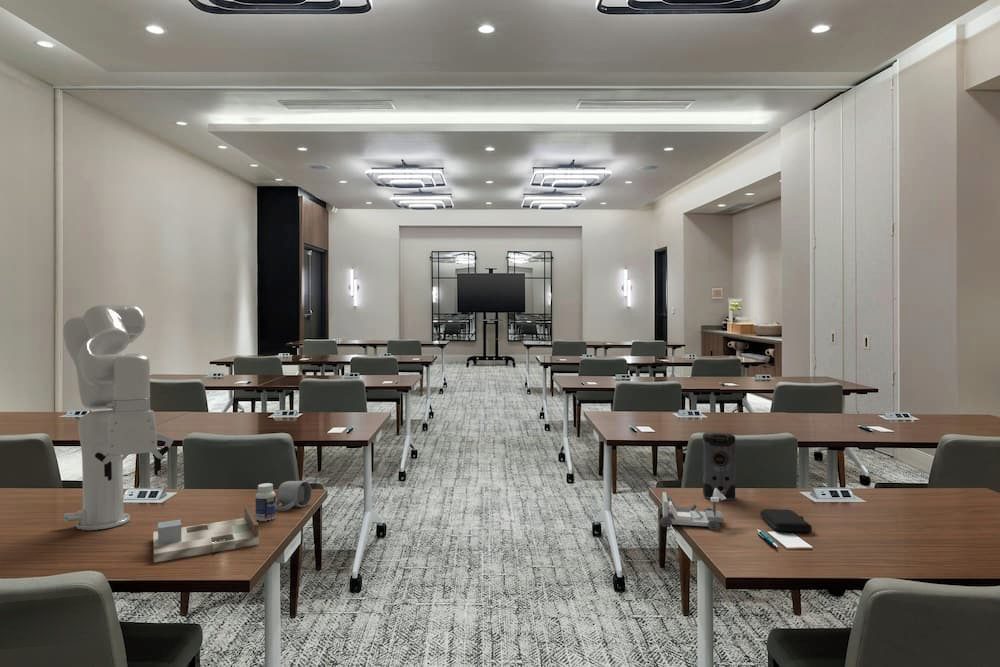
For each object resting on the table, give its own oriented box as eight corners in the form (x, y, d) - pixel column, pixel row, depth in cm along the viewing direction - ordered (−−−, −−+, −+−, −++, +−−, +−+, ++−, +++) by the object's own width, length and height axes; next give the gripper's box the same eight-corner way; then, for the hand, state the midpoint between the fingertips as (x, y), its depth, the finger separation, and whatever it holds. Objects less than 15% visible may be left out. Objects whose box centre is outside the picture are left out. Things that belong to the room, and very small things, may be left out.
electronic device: (705, 499, 191) (705, 436, 191) (702, 494, 197) (702, 432, 196) (736, 500, 189) (736, 436, 189) (732, 495, 195) (732, 433, 195)
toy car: (724, 484, 173) (730, 495, 162) (724, 519, 173) (730, 532, 162) (658, 481, 177) (660, 492, 165) (658, 514, 177) (660, 527, 166)
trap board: (153, 562, 142) (153, 541, 142) (153, 539, 157) (153, 520, 157) (258, 544, 153) (258, 524, 153) (248, 524, 169) (248, 506, 169)
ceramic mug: (290, 500, 192) (290, 476, 192) (312, 502, 189) (312, 478, 189) (267, 511, 182) (267, 485, 182) (290, 513, 179) (290, 487, 179)
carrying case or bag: (819, 536, 158) (797, 518, 173) (819, 525, 158) (797, 508, 172) (776, 535, 159) (758, 517, 174) (776, 523, 159) (758, 507, 174)
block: (158, 544, 148) (158, 528, 148) (158, 538, 152) (157, 522, 152) (181, 540, 150) (181, 524, 150) (180, 535, 155) (180, 519, 155)
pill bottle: (268, 522, 171) (268, 487, 171) (251, 521, 172) (251, 486, 172) (279, 516, 176) (279, 482, 176) (262, 515, 177) (262, 482, 177)
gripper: (88, 410, 140) (89, 485, 140) (173, 405, 148) (174, 475, 149) (90, 407, 146) (91, 478, 146) (172, 402, 155) (173, 469, 155)
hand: (133, 476), depth 147 cm, fingers open, 9 cm apart
